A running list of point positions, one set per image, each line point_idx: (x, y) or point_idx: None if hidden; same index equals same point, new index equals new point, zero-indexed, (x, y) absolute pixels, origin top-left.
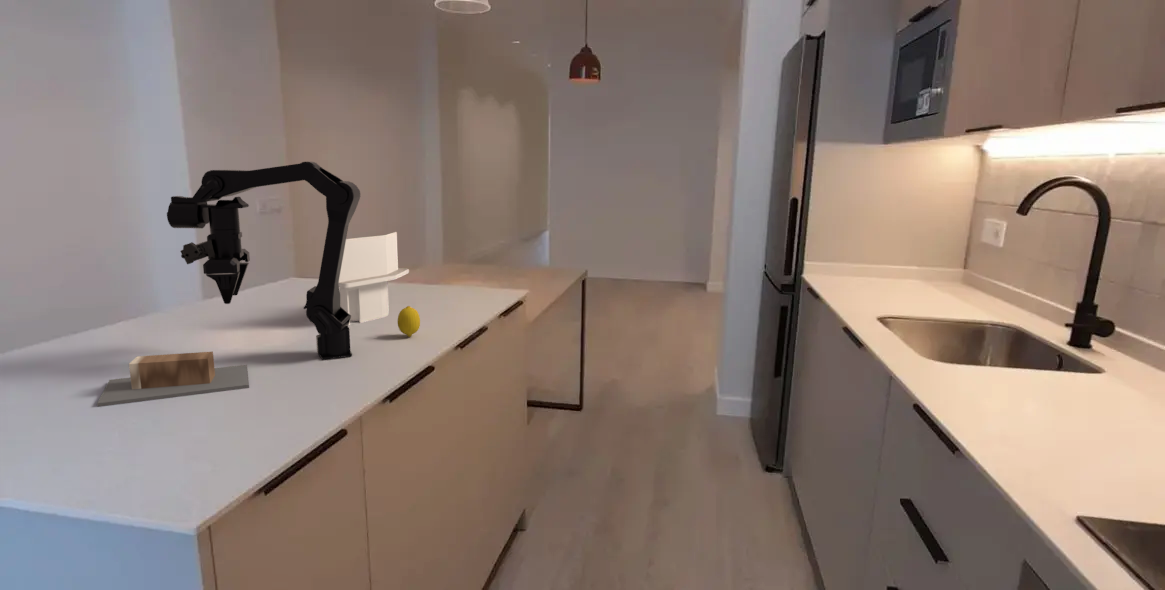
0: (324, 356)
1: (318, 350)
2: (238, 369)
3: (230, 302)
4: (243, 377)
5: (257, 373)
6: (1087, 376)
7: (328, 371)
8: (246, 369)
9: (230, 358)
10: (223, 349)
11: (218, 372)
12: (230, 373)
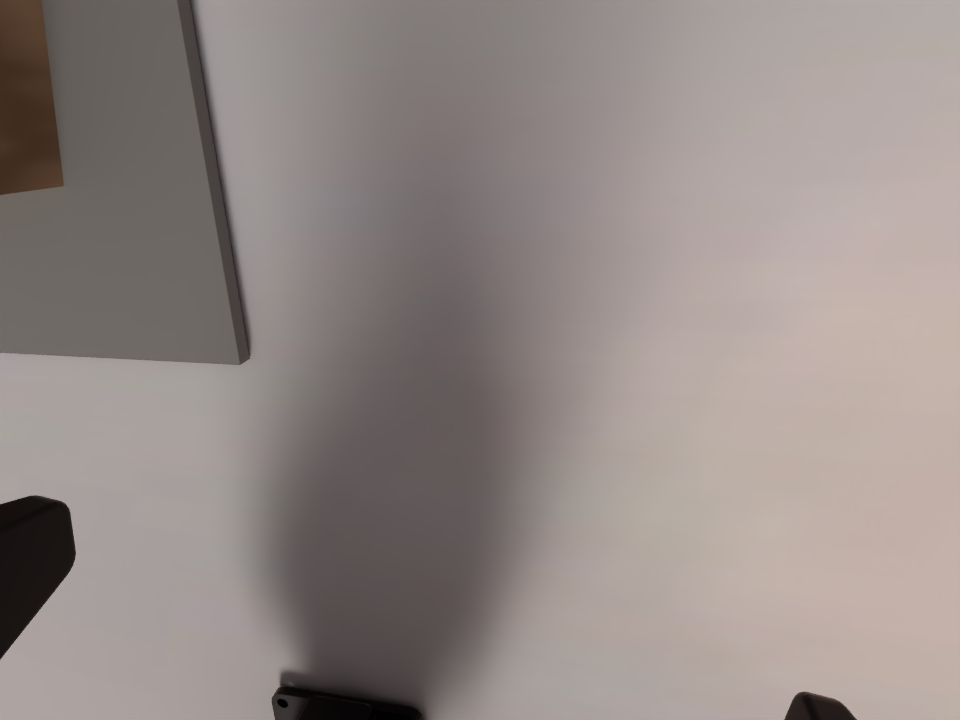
0: (291, 707)
1: (298, 717)
2: (152, 314)
3: (52, 575)
4: (11, 331)
5: (130, 396)
6: None
7: (108, 657)
8: (144, 354)
9: (488, 272)
10: (794, 225)
11: (116, 204)
12: (85, 270)
